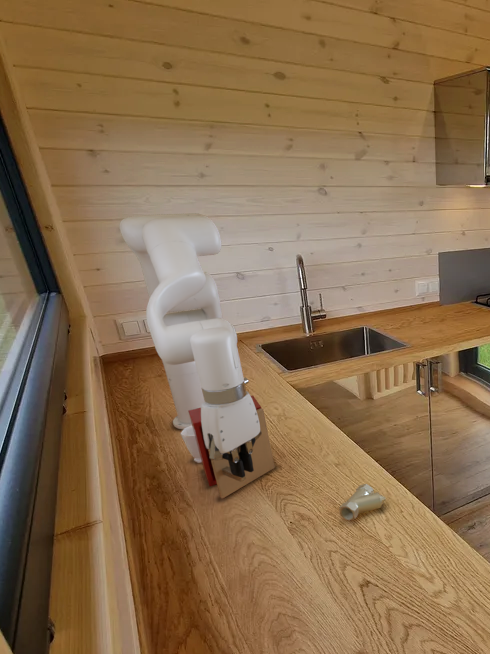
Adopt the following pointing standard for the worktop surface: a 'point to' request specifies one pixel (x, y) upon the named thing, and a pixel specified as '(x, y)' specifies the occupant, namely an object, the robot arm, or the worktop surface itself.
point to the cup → (191, 443)
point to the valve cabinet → (203, 451)
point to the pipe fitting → (361, 502)
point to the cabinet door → (259, 458)
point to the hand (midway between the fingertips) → (243, 472)
